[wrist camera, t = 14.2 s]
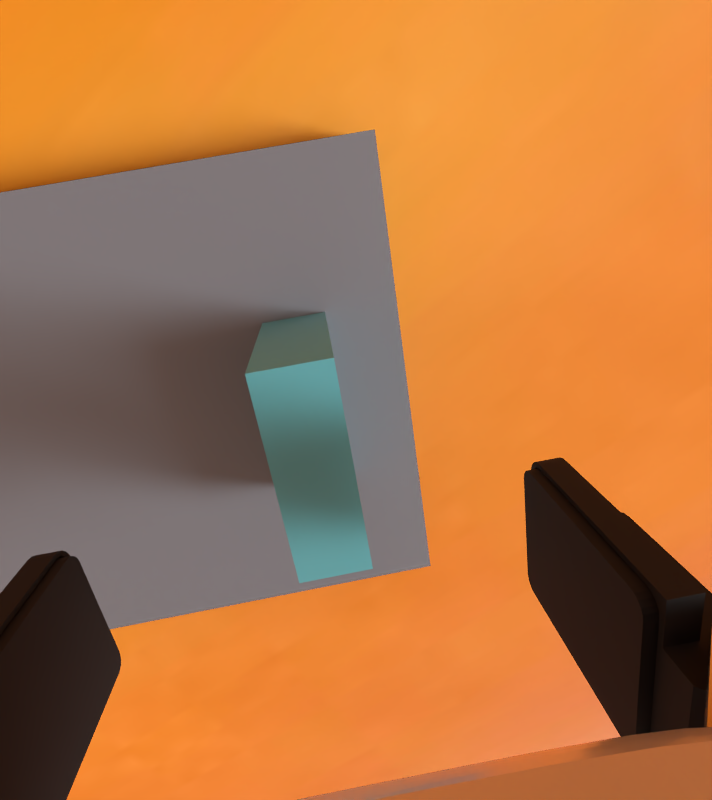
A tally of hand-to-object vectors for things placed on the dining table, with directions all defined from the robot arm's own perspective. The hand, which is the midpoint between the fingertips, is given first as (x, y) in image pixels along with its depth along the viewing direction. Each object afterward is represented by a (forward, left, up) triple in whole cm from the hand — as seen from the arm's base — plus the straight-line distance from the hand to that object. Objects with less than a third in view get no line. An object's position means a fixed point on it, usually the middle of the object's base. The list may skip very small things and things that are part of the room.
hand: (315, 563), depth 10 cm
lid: (+1, +6, -9) cm, 11 cm away
